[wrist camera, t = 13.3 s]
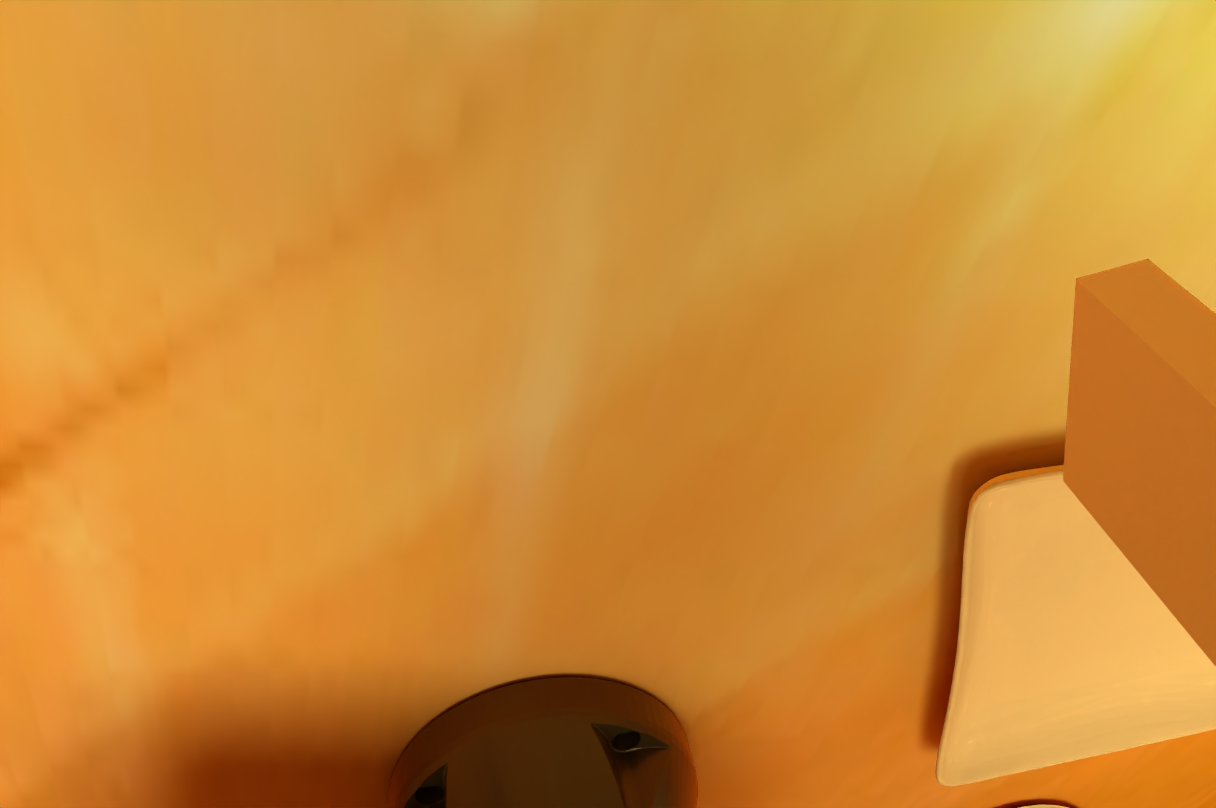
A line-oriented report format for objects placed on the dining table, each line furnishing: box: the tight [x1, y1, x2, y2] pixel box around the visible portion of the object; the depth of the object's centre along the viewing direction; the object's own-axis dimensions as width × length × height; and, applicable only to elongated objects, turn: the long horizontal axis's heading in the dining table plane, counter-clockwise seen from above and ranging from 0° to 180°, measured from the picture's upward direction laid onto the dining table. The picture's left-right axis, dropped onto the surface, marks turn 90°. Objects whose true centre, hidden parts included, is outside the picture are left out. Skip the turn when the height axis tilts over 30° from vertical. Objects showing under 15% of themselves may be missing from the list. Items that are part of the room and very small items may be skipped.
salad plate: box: [936, 465, 1216, 787], centre depth 55 cm, size 21×21×3 cm
